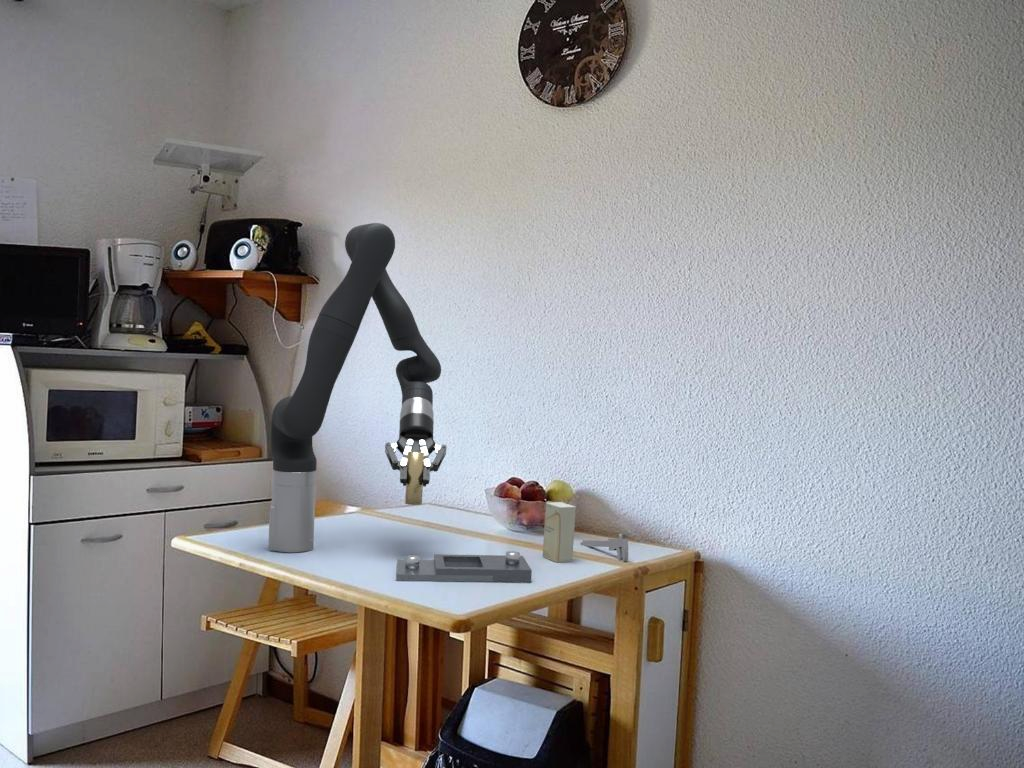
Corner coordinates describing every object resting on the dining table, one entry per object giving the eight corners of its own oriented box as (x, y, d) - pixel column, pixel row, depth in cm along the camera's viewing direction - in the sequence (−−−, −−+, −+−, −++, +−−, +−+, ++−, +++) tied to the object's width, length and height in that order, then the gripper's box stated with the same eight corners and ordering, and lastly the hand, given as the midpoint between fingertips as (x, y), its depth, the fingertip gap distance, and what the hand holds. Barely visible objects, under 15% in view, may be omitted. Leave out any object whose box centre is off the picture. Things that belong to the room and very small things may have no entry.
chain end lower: (396, 580, 170) (397, 563, 170) (397, 565, 183) (397, 549, 183) (492, 581, 172) (493, 565, 172) (486, 566, 185) (487, 551, 185)
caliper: (628, 563, 196) (629, 534, 196) (623, 563, 195) (625, 534, 195) (583, 544, 214) (584, 518, 214) (579, 545, 214) (580, 519, 214)
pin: (405, 504, 187) (407, 452, 187) (404, 502, 191) (407, 450, 191) (422, 505, 188) (424, 453, 187) (421, 502, 191) (424, 451, 191)
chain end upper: (435, 581, 171) (436, 558, 171) (433, 565, 184) (434, 544, 183) (531, 582, 173) (532, 559, 173) (522, 567, 186) (523, 546, 186)
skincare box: (541, 556, 197) (544, 502, 197) (559, 555, 199) (561, 501, 199) (556, 563, 191) (559, 506, 191) (574, 561, 194) (576, 506, 193)
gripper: (385, 409, 195) (381, 471, 184) (449, 412, 197) (449, 474, 185) (384, 432, 201) (380, 493, 189) (447, 434, 203) (447, 495, 191)
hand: (414, 483), depth 187 cm, fingers closed on pin, 3 cm apart
